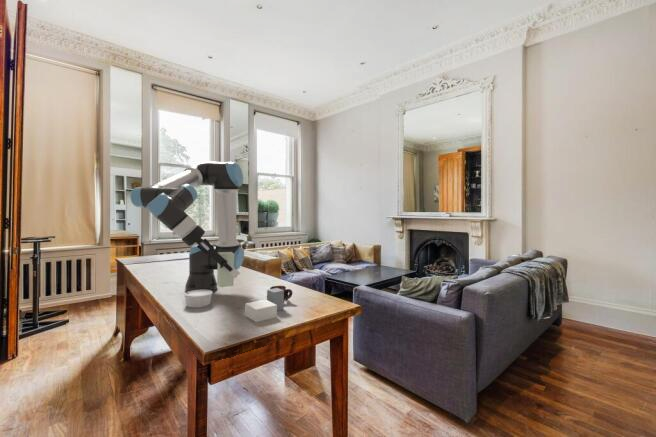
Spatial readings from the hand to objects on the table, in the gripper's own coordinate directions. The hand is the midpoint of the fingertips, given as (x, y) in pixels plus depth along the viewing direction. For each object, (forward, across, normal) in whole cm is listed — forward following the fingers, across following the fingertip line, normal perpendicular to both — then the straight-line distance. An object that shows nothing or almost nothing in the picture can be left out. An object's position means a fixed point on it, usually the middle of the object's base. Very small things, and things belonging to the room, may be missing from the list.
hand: (235, 274), depth 114 cm
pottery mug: (+29, -14, +4) cm, 32 cm away
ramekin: (+5, -23, -20) cm, 31 cm away
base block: (+19, +2, -5) cm, 20 cm away
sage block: (0, 0, -5) cm, 5 cm away
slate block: (+25, -4, 0) cm, 25 cm away
